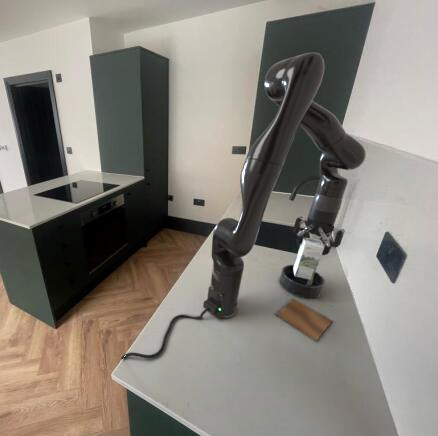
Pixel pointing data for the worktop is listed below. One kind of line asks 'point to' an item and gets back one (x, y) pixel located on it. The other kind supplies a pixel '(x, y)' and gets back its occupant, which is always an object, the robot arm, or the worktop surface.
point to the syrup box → (308, 258)
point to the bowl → (301, 283)
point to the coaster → (304, 319)
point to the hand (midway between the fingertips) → (310, 249)
